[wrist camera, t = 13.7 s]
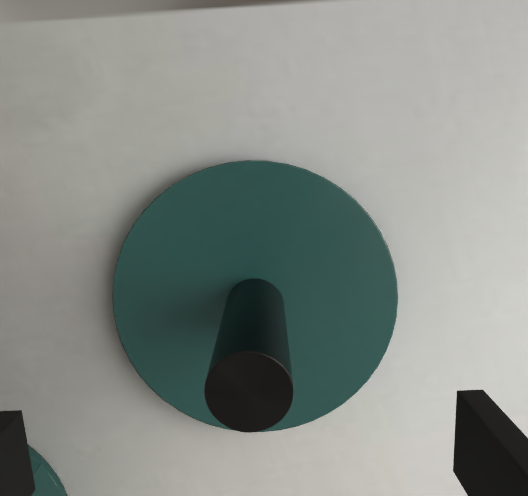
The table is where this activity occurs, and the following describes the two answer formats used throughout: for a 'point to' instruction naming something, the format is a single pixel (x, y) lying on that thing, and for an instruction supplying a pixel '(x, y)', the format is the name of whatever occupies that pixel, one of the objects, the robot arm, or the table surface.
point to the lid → (255, 296)
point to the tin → (44, 477)
